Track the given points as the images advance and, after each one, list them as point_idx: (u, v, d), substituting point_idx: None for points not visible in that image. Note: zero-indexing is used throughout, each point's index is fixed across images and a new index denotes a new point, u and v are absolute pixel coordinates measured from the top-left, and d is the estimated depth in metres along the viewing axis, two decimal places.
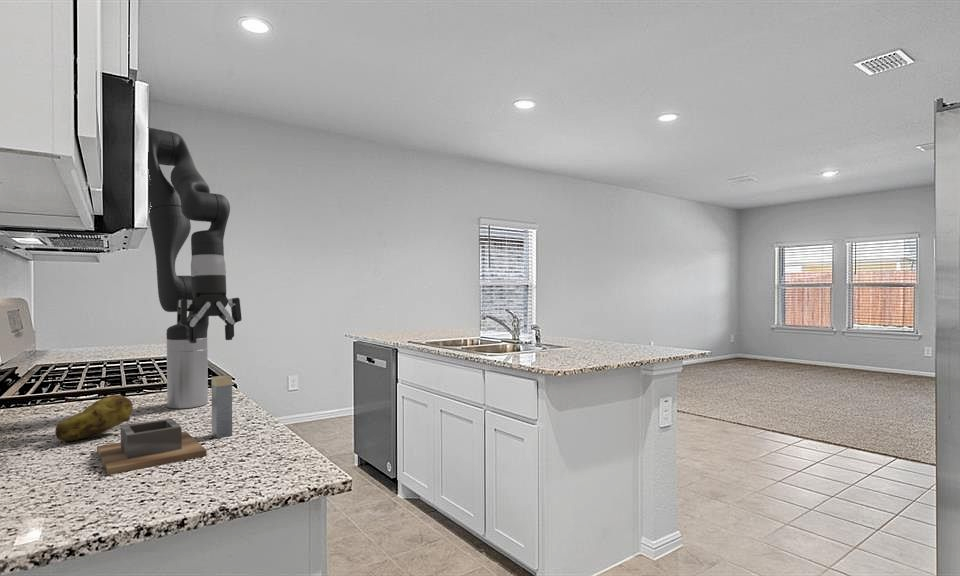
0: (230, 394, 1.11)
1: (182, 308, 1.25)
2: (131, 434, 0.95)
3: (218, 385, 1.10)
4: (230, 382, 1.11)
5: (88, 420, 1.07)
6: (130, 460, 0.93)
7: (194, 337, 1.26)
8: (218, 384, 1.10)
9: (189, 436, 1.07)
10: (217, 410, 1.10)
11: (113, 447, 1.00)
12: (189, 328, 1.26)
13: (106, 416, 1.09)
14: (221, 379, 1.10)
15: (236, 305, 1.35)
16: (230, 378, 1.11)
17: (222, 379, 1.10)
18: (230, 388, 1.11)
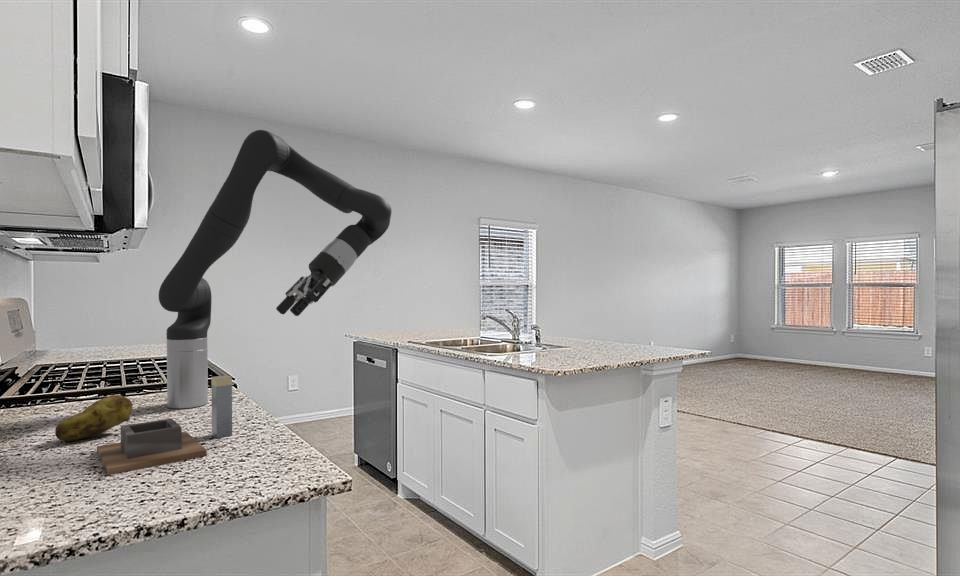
0: (230, 394, 1.11)
1: (326, 290, 1.20)
2: (131, 434, 0.95)
3: (218, 385, 1.10)
4: (230, 382, 1.11)
5: (87, 420, 1.07)
6: (130, 460, 0.93)
7: None
8: (218, 384, 1.10)
9: (189, 436, 1.07)
10: (217, 410, 1.10)
11: (113, 447, 1.00)
12: (308, 303, 1.19)
13: (106, 416, 1.09)
14: (221, 379, 1.10)
15: None
16: (230, 378, 1.11)
17: (222, 379, 1.10)
18: (230, 388, 1.11)
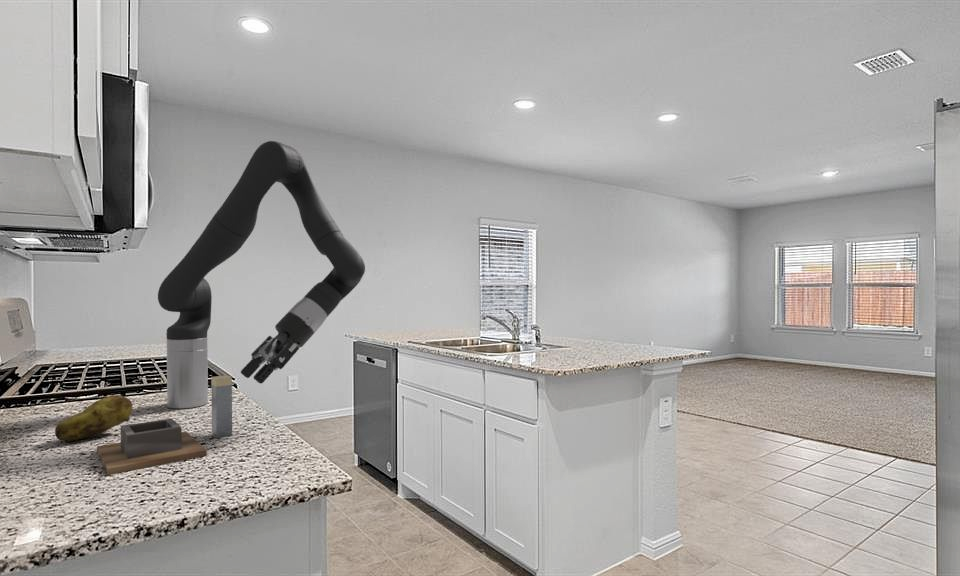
0: (230, 393, 1.11)
1: (292, 355, 1.15)
2: (131, 434, 0.95)
3: (218, 385, 1.10)
4: (230, 382, 1.11)
5: (87, 420, 1.07)
6: (130, 460, 0.93)
7: None
8: (218, 384, 1.10)
9: (189, 436, 1.07)
10: (217, 410, 1.10)
11: (113, 447, 1.00)
12: (272, 370, 1.14)
13: (106, 416, 1.09)
14: (221, 379, 1.10)
15: None
16: (230, 378, 1.11)
17: (222, 379, 1.10)
18: (230, 388, 1.11)
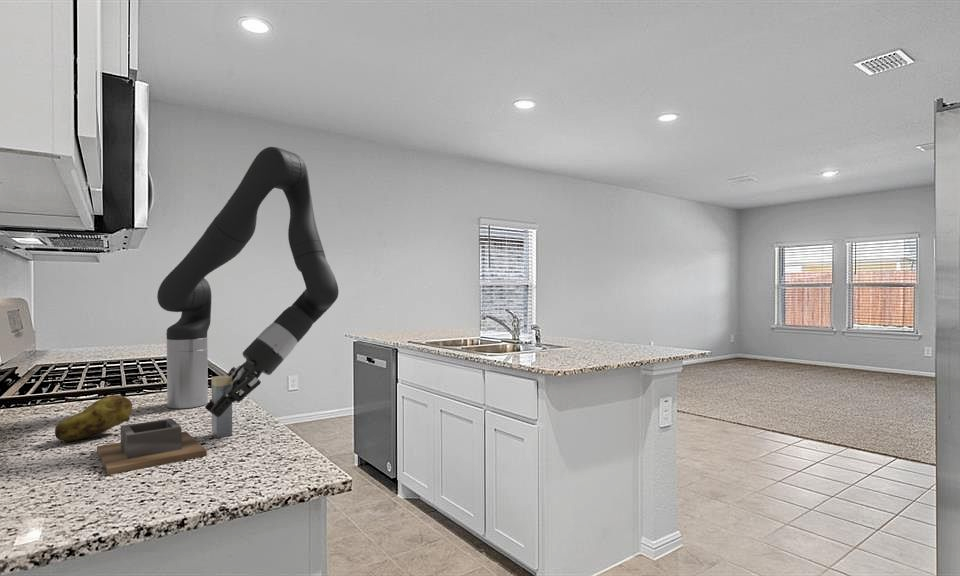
0: None
1: (252, 389, 1.10)
2: (131, 434, 0.95)
3: (218, 385, 1.10)
4: (230, 382, 1.11)
5: (87, 420, 1.07)
6: (130, 460, 0.93)
7: None
8: (218, 384, 1.10)
9: (189, 436, 1.07)
10: None
11: (113, 447, 1.00)
12: (230, 403, 1.10)
13: (106, 416, 1.09)
14: (221, 379, 1.10)
15: None
16: (230, 378, 1.11)
17: (222, 379, 1.10)
18: None
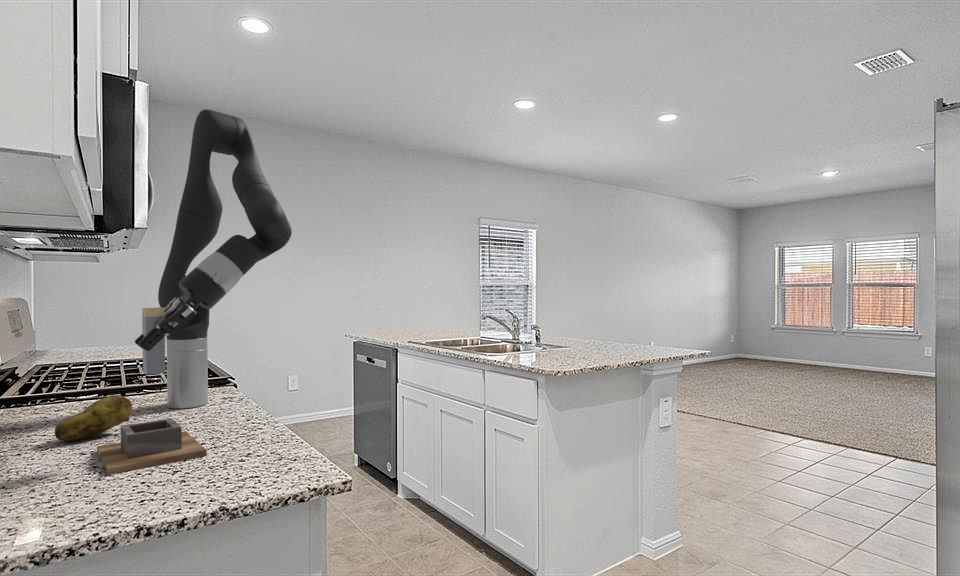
0: None
1: (186, 321, 0.98)
2: (131, 434, 0.95)
3: (148, 315, 0.98)
4: (162, 313, 1.00)
5: (87, 420, 1.07)
6: (130, 460, 0.93)
7: (153, 346, 0.98)
8: (148, 314, 0.98)
9: (189, 436, 1.07)
10: None
11: (113, 447, 1.00)
12: (162, 335, 0.98)
13: (105, 416, 1.09)
14: (152, 309, 0.98)
15: None
16: (162, 309, 1.00)
17: (153, 309, 0.99)
18: None
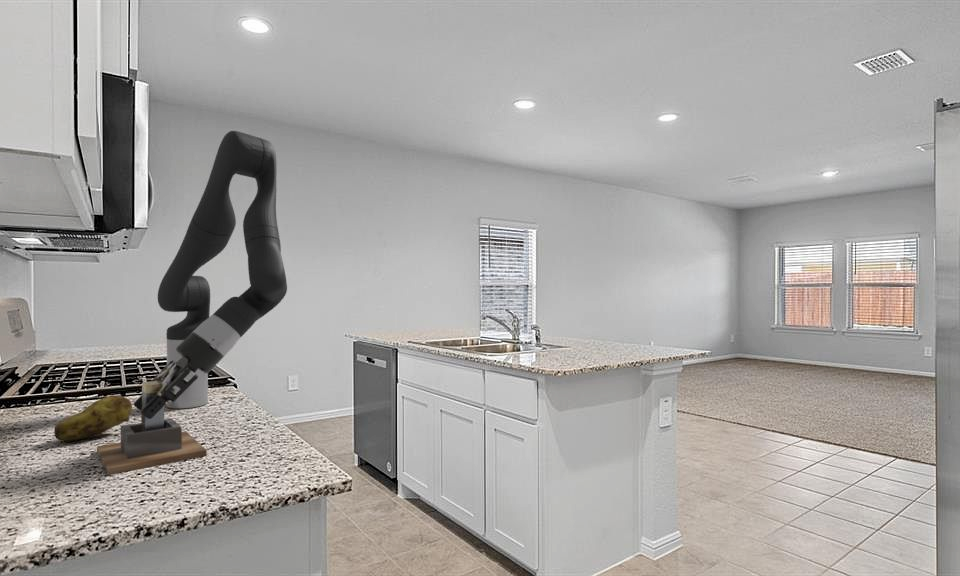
0: None
1: (189, 385, 0.98)
2: (131, 434, 0.95)
3: (148, 392, 0.98)
4: None
5: (86, 420, 1.07)
6: (130, 460, 0.93)
7: None
8: (148, 391, 0.98)
9: (189, 436, 1.07)
10: (146, 420, 0.98)
11: (113, 447, 1.00)
12: (164, 402, 0.97)
13: (105, 417, 1.09)
14: (152, 385, 0.99)
15: None
16: None
17: (153, 385, 0.99)
18: None
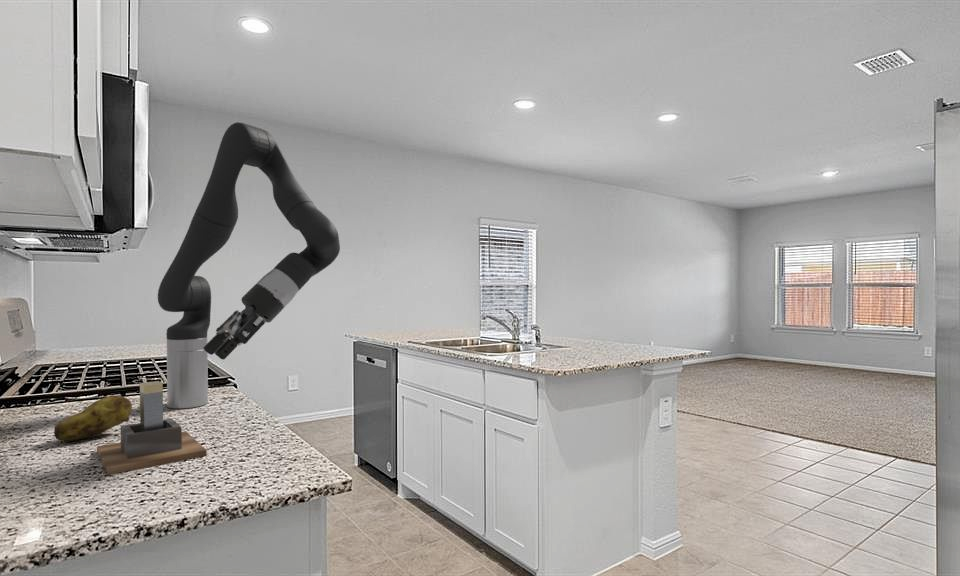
0: (161, 402, 1.00)
1: (258, 329, 1.06)
2: (131, 434, 0.95)
3: (146, 392, 0.98)
4: (161, 389, 0.99)
5: (86, 420, 1.07)
6: (130, 460, 0.93)
7: None
8: (146, 391, 0.98)
9: (189, 436, 1.07)
10: (145, 420, 0.98)
11: (113, 447, 1.00)
12: (235, 345, 1.05)
13: (105, 417, 1.09)
14: (150, 386, 0.98)
15: None
16: (161, 384, 1.00)
17: (151, 386, 0.98)
18: (161, 396, 0.99)
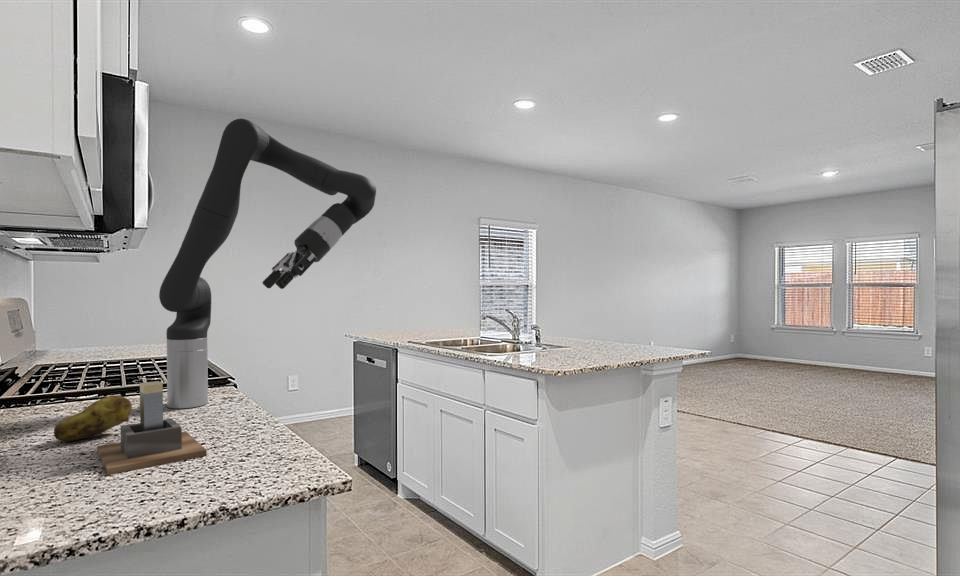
0: (161, 402, 1.00)
1: (311, 264, 1.24)
2: (131, 434, 0.95)
3: (146, 392, 0.98)
4: (161, 389, 0.99)
5: (86, 420, 1.07)
6: (130, 460, 0.93)
7: None
8: (146, 391, 0.98)
9: (189, 436, 1.07)
10: (145, 420, 0.98)
11: (113, 447, 1.00)
12: (292, 277, 1.23)
13: (105, 417, 1.09)
14: (150, 386, 0.98)
15: None
16: (161, 384, 1.00)
17: (151, 386, 0.98)
18: (161, 396, 0.99)
